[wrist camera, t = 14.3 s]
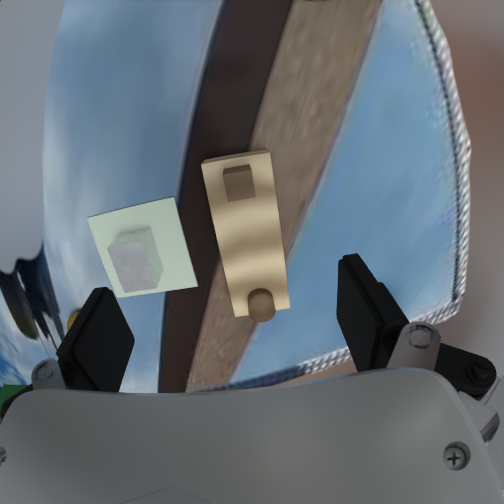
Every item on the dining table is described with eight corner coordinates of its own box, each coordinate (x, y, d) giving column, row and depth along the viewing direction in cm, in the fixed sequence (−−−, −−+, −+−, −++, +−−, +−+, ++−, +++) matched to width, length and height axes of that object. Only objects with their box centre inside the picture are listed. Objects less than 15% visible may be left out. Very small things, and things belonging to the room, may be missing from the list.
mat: (88, 217, 38) (87, 218, 38) (174, 196, 38) (173, 197, 37) (118, 296, 44) (117, 297, 44) (198, 284, 44) (197, 286, 43)
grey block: (119, 233, 39) (106, 248, 35) (150, 226, 39) (140, 241, 34) (134, 275, 42) (124, 293, 38) (163, 270, 42) (156, 288, 37)
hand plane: (204, 159, 36) (196, 170, 29) (266, 149, 36) (274, 156, 29) (235, 301, 45) (235, 335, 38) (285, 292, 45) (294, 325, 38)
